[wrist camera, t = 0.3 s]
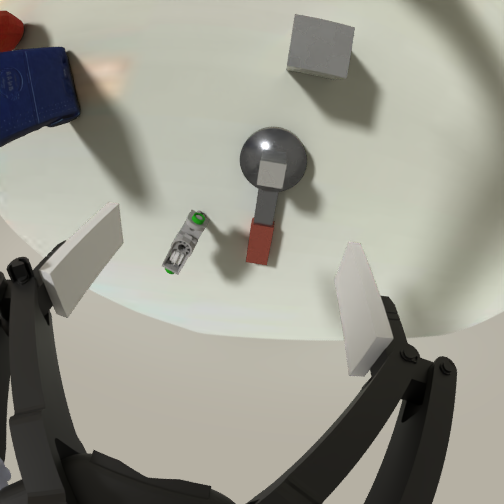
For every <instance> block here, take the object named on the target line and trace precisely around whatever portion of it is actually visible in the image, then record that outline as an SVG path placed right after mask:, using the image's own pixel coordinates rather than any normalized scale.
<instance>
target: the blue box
mask: <svg viewBox="0 0 504 504" xmlns="http://www.w3.org/2000/svg"><path fill="white" fill-rule="evenodd" d="M79 116H80V107H79V103H78V100H77V96H76V92H75V87H74V82H73V77H72V73H71V69H70V65H69V60H68V56H67V54H66V52H65V48H63V47H47V48H33V49H21V50H13V51H7V52H0V147H2V146H4V145H5V144H7V143H9V142H11V141H13V140H15V139H18V138H20V137H22V136H25V135H26V134H28V133H31V132H33V131H36V130H39V129H40V128H42V127H44V126H48V127H55V126H58V125H62V124H65V123H68V122H70V121H72V120H74V119H76V118H77V117H79Z"/></svg>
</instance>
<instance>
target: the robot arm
mask: <svg viewBox="0 0 504 504" xmlns="http://www.w3.org/2000/svg"><path fill="white" fill-rule="evenodd" d="M123 243H124V242H123V235H122V227H121V218H120V209H119V203H111V202H108V203H107V204H106V205H105V206H104V207H102V208H101V209H100V210H99V211H98V212H97V213H96V214H94V215H93V216H92V217H91V218H90V219H89V220H88V221H87V222H86V223H85V224H83V225H82V226H81V227H80V228H79V229H78V230H77V231H76V232H75V233H74V234H73V235H72V236H71V237H70V238H69V239H68V240H67V241H66V240H65V241H63V242H61V243H60V244H58V245H57V246H56V247H55V248H54V249H53V250H52V251H51V252H50V253H49V254H48V255H47V257H45V258H44V259H43V260H42V261H41V262H40V263H39V264H38V265H37V266H36V267H35V269H34V270H32V267H31V264H30V262H29V259H27V258H26V257H19V258H16V259H15V260H13V261H12V262H11V263H10V264H9V265H8V266H7V271H8V274H9V276H10V278H11V280H6V279H5V277H4V274H3V273H2V272H0V504H235V503H234V502H233V501H232V500H231V499H229V498H228V497H226V496H225V495H223V494H221V493H219V492H217V491H215V490H212V489H211V486H208V485H203V484H198V483H193V482H189V481H184V480H180V479H158V478H148V477H145V476H143V475H141V474H140V473H138V472H136V471H135V470H133V469H132V468H130V467H129V466H127V465H125V464H124V463H122V462H121V461H119V460H117V459H114V458H111V457H109V456H107V455H104V454H102V453H100V452H97V451H95V450H94V451H93V453H92V454H87V453H86V451H85V448H84V447H83V445H82V443H81V441H80V440H79V438H78V437H77V435H76V432H75V429H74V426H73V423H72V420H71V416H70V413H69V409H68V406H67V402H66V398H65V394H64V389H63V385H62V381H61V376H60V371H59V366H58V360H57V355H56V348H55V342H54V334H53V326H52V316H51V313H50V309H51V307H52V306H53V307H54V309H55V311H56V313H57V314H58V315H61V316H64V317H66V318H68V317H69V315H70V314H71V313H72V311H73V310H74V308H75V307H76V305H77V304H78V302H79V301H80V300H81V298H82V297H83V295H84V294H85V292H86V291H87V290H88V288H89V287H90V286H91V284H92V283H93V282H94V280H95V279H96V278H97V276H98V275H99V274H100V272H101V271H102V270H103V268H104V267H105V266H106V264H107V263H108V262H109V261H110V259H111V258H112V257H113V256H114V254H115V253H116V252H117V251H118V249H119V248H120V247H121V246H122V244H123ZM334 282H335V287H336V293H337V298H338V304H339V310H340V316H341V322H342V328H343V335H344V342H345V349H346V356H347V363H348V372H349V376H365V375H366V373H368V371H369V370H370V371H371V376H372V377H371V378H370V379H369V380H368V382H367V383H366V384H365V385H364V386H363V387H362V390H361V391H360V392H359V393H358V395H357V396H356V397H355V399H354V400H353V401H352V402H351V403H350V405H349V406H348V407H347V409H346V410H345V411H344V412H343V413H342V414H341V415H340V417H339V418H338V419H337V420H336V421H335V422H334V423H333V425H332V426H331V427H330V428H329V429H328V430H327V431H326V432H325V433H324V435H323V436H322V437H321V438H320V439H319V440H318V441H317V442H316V443H315V444H314V445H313V446H312V447H311V448H310V449H309V450H308V451H307V452H306V453H305V454H304V455H303V456H302V457H301V458H300V459H299V460H298V461H297V462H296V463H295V464H294V465H293V466H292V467H291V468H289V469H288V470H287V471H286V472H285V473H284V474H283V475H282V476H281V477H280V478H278V479H277V480H276V481H275V482H274V483H272V484H271V485H270V486H269V487H267V488H266V489H265V490H263V491H262V492H261V493H259V494H258V495H257V496H255V497H254V498H253V499H252V500H250V501H249V502H248V503H246V504H322V503H323V501H324V500H325V499H326V498H327V497H328V496H329V495H330V494H331V493H332V492H333V491H334V490H335V488H336V487H337V486H338V485H339V484H340V483H341V482H342V480H343V479H344V478H345V477H346V476H347V475H348V473H349V472H350V471H351V470H352V469H353V467H354V466H355V465H356V463H357V462H358V461H359V460H360V458H361V457H362V456H363V454H364V453H365V452H366V450H367V449H368V448H369V446H370V445H371V444H372V442H373V441H374V439H375V438H376V437H377V435H378V434H379V432H380V431H381V429H382V428H383V426H384V425H385V423H386V422H387V420H388V419H389V417H390V415H391V414H392V412H393V411H394V409H395V407H396V406H397V404H398V402H399V400H400V399H402V404H401V408H400V411H399V415H398V418H397V421H396V425H395V428H394V431H393V434H392V437H391V440H390V443H389V445H388V449H387V451H386V454H385V456H384V459H383V462H382V464H381V467H380V469H379V471H378V474H377V476H376V479H375V481H374V483H373V486H372V488H371V490H370V492H369V494H368V496H367V498H366V500H365V503H364V504H432V502H433V499H434V496H435V493H436V489H437V486H438V483H439V479H440V476H441V472H442V468H443V464H444V460H445V456H446V451H447V447H448V442H449V437H450V431H451V425H452V418H453V411H454V403H455V393H456V381H457V369H456V367H455V365H454V363H453V362H452V361H451V360H450V359H448V358H447V357H443V356H442V357H438V358H437V359H436V360H435V361H434V362H431V361H428V360H425V359H422V358H420V355H419V353H418V351H417V350H416V349H415V348H414V347H413V346H411V345H410V344H408V343H407V340H406V337H405V333H404V330H403V327H402V324H401V321H400V318H399V315H398V314H397V310H396V307H395V304H394V303H393V302H392V301H391V299H390V298H389V297H386V296H380V293H379V290H378V287H377V284H376V281H375V279H374V276H373V273H372V270H371V268H370V265H369V262H368V260H367V257H366V254H365V252H364V249H363V247H362V244H361V243H356V242H351V241H349V242H348V244H347V247H346V250H345V253H344V255H343V258H342V261H341V263H340V266H339V268H338V271H337V274H336V276H335V279H334ZM10 375H11V385H12V395H13V403H14V410H15V414H14V416H12V417H10V419H9V426H10V432H11V437H12V442H13V446H14V450H15V455H16V459H17V462H18V465H19V470H20V472H21V476H22V480H20V481H17V482H15V483H13V484H11V485H8V483H7V481H9V480H10V478H11V473H10V471H9V469H8V468H6V467H5V465H4V461H5V452H6V421H7V418H6V417H7V402H8V401H7V400H8V391H9V381H10Z"/></svg>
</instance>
